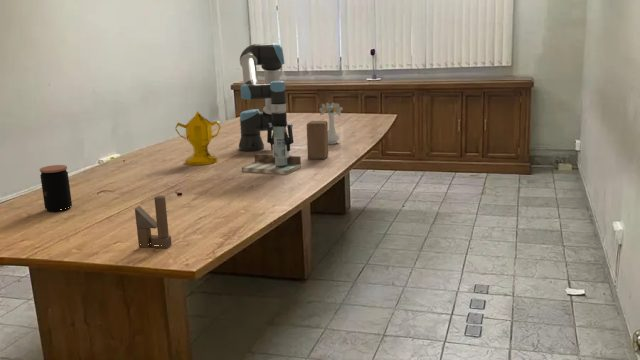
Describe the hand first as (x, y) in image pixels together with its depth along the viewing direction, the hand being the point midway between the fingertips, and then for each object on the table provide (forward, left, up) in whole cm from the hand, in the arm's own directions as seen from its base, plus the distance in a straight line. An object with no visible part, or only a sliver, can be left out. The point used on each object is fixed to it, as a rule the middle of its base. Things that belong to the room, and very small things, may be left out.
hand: (281, 156), depth 327 cm
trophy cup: (-53, +6, -7) cm, 53 cm away
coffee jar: (-60, -92, -7) cm, 109 cm away
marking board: (-6, 0, -7) cm, 9 cm away
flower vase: (-3, +75, -7) cm, 75 cm away
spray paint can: (0, 0, -4) cm, 4 cm away
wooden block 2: (+9, -116, -7) cm, 117 cm away
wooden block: (+6, +33, -7) cm, 34 cm away
